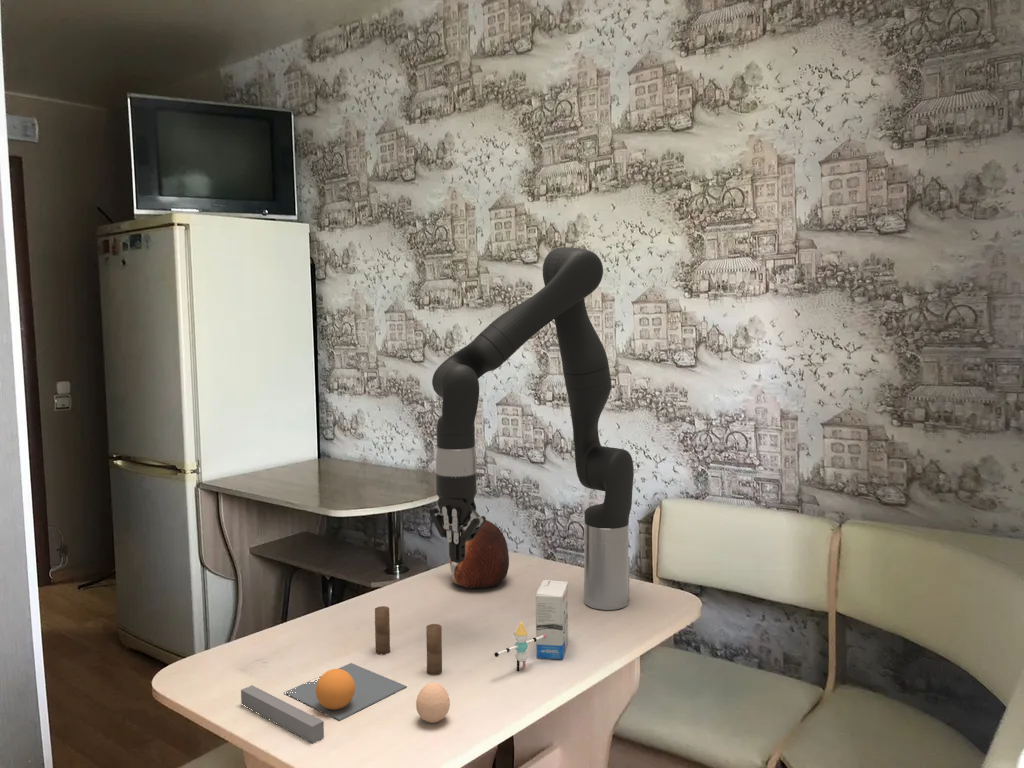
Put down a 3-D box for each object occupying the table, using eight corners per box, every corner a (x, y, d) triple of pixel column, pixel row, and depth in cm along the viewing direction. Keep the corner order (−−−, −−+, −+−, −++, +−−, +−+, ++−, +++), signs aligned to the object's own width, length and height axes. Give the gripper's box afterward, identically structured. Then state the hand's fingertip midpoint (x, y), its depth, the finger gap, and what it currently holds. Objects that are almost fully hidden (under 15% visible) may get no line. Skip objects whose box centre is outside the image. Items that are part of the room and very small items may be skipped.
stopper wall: (252, 700, 130) (252, 685, 130) (323, 737, 119) (323, 721, 119) (241, 704, 129) (240, 689, 129) (312, 743, 118) (312, 726, 117)
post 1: (383, 647, 150) (382, 605, 150) (393, 651, 149) (392, 608, 148) (372, 651, 148) (371, 609, 148) (382, 655, 147) (381, 612, 146)
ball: (313, 713, 128) (339, 691, 132) (340, 721, 124) (366, 697, 129) (303, 680, 126) (330, 658, 131) (331, 686, 123) (357, 664, 128)
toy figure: (540, 656, 146) (540, 610, 145) (549, 661, 144) (550, 613, 144) (489, 677, 138) (489, 628, 137) (499, 682, 136) (499, 632, 135)
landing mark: (351, 663, 143) (351, 662, 143) (406, 687, 135) (406, 686, 135) (283, 693, 133) (283, 692, 133) (339, 720, 124) (339, 719, 124)
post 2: (434, 666, 142) (433, 622, 141) (445, 671, 141) (444, 626, 140) (423, 672, 140) (423, 627, 139) (434, 676, 139) (434, 631, 138)
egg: (441, 709, 127) (441, 673, 127) (455, 724, 123) (455, 686, 122) (411, 717, 125) (410, 680, 124) (424, 732, 121) (423, 694, 120)
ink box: (562, 660, 145) (562, 596, 144) (534, 658, 146) (535, 594, 145) (568, 641, 153) (569, 580, 152) (542, 639, 154) (542, 578, 153)
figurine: (459, 568, 195) (459, 507, 194) (519, 578, 188) (519, 514, 187) (427, 587, 182) (427, 521, 181) (490, 598, 175) (490, 530, 174)
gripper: (496, 471, 150) (497, 563, 152) (444, 463, 158) (445, 550, 160) (469, 478, 144) (470, 573, 146) (416, 469, 153) (418, 559, 154)
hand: (457, 561), depth 153 cm, fingers closed
